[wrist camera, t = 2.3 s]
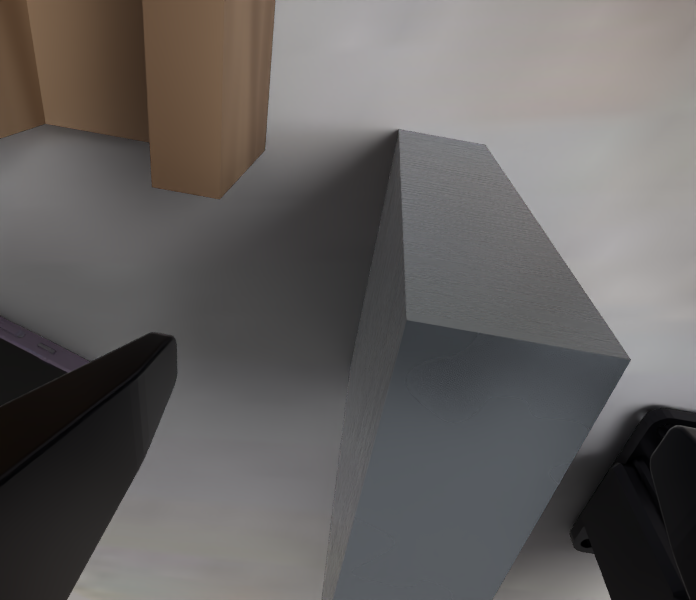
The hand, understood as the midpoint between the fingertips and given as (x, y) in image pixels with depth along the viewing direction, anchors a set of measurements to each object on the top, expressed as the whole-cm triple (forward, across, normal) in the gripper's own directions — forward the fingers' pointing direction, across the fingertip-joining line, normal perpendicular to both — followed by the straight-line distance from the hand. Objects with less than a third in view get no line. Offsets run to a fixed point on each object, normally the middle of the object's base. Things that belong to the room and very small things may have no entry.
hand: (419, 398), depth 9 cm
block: (+5, 0, 0) cm, 5 cm away
